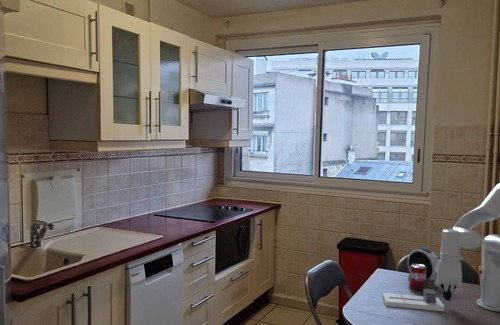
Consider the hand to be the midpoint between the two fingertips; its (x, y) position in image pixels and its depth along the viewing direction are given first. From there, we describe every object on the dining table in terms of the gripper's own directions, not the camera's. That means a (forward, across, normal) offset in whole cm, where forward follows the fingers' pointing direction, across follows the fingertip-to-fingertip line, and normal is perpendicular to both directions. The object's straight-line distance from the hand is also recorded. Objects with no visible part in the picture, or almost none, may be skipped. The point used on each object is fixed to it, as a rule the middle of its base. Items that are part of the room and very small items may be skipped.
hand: (447, 299), depth 180 cm
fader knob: (+1, +7, 0) cm, 7 cm away
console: (+3, +14, 0) cm, 15 cm away
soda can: (+4, +8, -18) cm, 20 cm away
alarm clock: (+4, +3, -29) cm, 29 cm away
